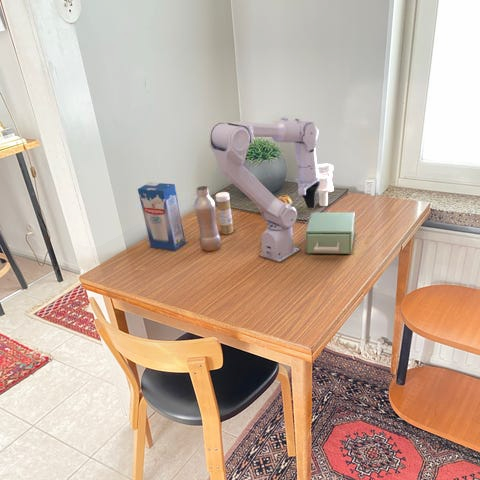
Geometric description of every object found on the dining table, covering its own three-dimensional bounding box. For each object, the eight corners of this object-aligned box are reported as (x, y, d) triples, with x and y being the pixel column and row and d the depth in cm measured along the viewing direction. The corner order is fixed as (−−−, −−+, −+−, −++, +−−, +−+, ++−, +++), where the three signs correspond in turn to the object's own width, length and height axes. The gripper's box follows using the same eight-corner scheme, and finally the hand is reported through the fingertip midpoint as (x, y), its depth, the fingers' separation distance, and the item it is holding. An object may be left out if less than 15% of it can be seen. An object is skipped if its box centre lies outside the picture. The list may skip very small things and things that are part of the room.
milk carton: (150, 247, 161) (137, 188, 150) (161, 239, 166) (149, 182, 155) (175, 250, 157) (163, 190, 146) (185, 242, 161) (174, 184, 150)
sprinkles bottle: (228, 228, 168) (223, 190, 160) (236, 231, 165) (231, 193, 157) (217, 232, 165) (212, 194, 158) (225, 236, 162) (220, 197, 155)
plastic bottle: (219, 253, 152) (210, 191, 141) (198, 253, 153) (188, 192, 142) (223, 244, 157) (215, 184, 146) (204, 244, 159) (194, 184, 147)
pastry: (278, 214, 173) (277, 204, 171) (264, 211, 177) (263, 201, 175) (293, 205, 179) (293, 195, 177) (279, 202, 183) (278, 193, 181)
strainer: (321, 209, 172) (321, 167, 164) (309, 204, 178) (308, 163, 169) (337, 204, 175) (337, 163, 166) (325, 199, 180) (325, 159, 172)
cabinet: (351, 254, 142) (351, 231, 138) (306, 253, 145) (305, 231, 141) (354, 233, 153) (354, 212, 149) (312, 233, 157) (311, 212, 153)
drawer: (347, 260, 137) (348, 242, 134) (305, 260, 140) (305, 242, 137) (351, 234, 151) (352, 217, 148) (313, 233, 154) (312, 217, 151)
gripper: (300, 154, 146) (305, 196, 154) (285, 174, 136) (291, 218, 144) (323, 153, 143) (327, 196, 151) (309, 173, 133) (314, 218, 141)
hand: (311, 207), depth 148 cm, fingers closed
